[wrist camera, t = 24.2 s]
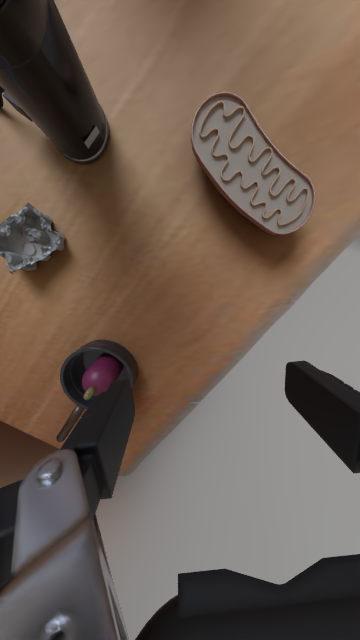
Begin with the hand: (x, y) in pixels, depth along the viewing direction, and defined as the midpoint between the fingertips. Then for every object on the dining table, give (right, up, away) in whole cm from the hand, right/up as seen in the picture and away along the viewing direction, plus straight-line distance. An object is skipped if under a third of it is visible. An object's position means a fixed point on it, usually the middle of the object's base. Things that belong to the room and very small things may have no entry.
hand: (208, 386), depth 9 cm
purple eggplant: (-17, -6, +30) cm, 35 cm away
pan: (-18, -8, +30) cm, 36 cm away
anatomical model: (+10, +27, +23) cm, 37 cm away
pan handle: (-25, -19, +31) cm, 44 cm away
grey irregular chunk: (-28, +18, +24) cm, 41 cm away
